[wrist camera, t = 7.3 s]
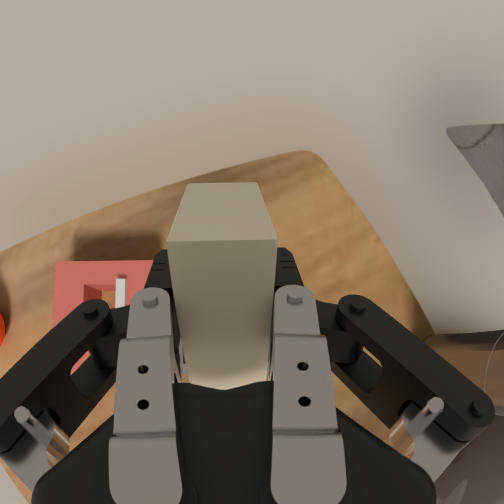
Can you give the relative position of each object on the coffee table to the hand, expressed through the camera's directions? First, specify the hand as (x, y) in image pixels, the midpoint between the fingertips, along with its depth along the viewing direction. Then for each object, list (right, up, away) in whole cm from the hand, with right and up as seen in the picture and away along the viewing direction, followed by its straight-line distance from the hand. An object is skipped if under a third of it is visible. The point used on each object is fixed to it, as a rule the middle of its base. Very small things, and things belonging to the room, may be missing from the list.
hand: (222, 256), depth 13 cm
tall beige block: (0, -9, +3) cm, 9 cm away
